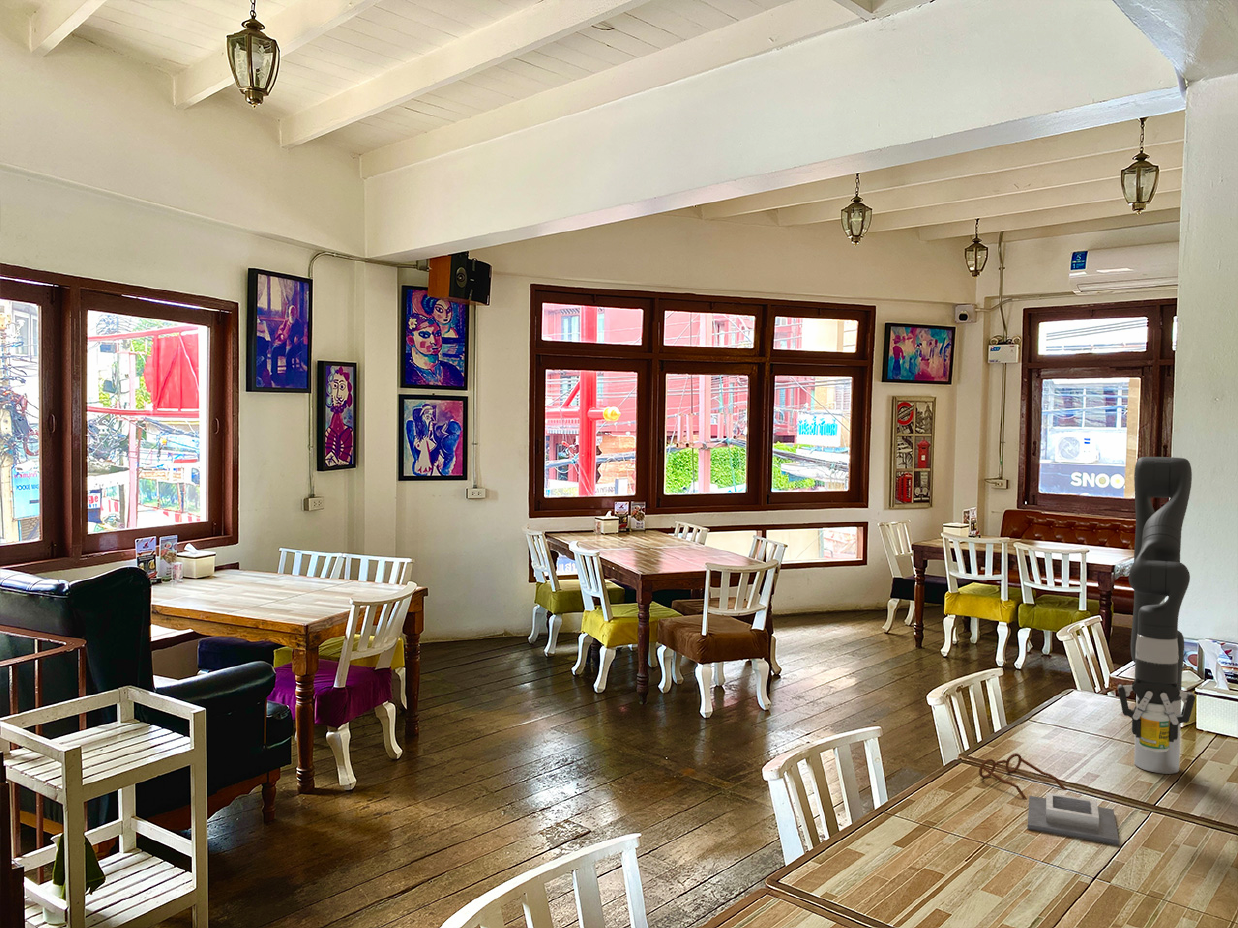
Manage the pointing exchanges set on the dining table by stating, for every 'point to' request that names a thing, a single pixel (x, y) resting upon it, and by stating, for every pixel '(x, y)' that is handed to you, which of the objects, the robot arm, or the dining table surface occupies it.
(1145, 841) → the dining table surface
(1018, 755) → the glasses
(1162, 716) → the supplement bottle
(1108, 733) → the dining table surface
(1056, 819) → the mount
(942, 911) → the dining table surface
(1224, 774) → the dining table surface
